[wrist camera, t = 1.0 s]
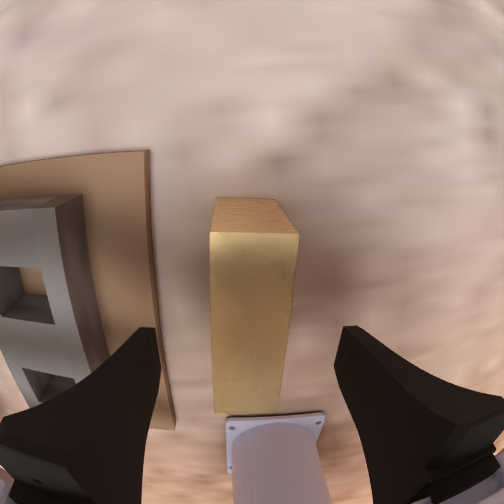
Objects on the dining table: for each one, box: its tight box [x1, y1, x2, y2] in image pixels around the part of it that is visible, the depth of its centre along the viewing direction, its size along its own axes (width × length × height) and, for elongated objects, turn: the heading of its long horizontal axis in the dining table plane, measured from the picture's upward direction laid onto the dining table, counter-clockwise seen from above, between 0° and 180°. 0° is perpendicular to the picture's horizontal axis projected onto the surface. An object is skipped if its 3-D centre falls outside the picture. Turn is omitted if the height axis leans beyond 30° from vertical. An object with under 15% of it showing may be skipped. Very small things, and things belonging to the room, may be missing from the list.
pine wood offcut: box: [210, 198, 299, 414], centre depth 15 cm, size 9×3×6 cm, turn 178°
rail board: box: [0, 150, 176, 430], centre depth 16 cm, size 20×14×4 cm
